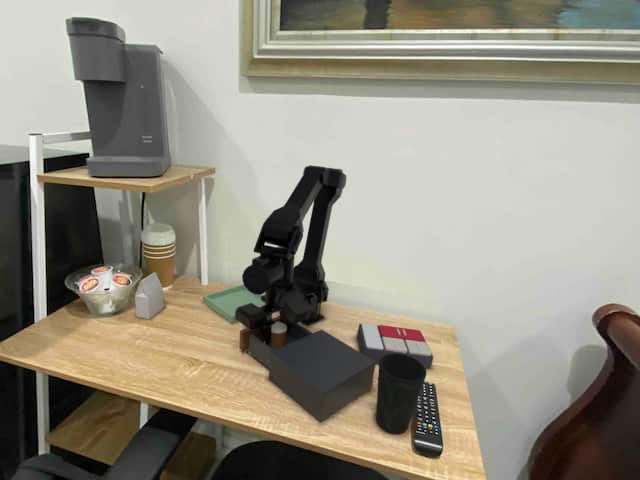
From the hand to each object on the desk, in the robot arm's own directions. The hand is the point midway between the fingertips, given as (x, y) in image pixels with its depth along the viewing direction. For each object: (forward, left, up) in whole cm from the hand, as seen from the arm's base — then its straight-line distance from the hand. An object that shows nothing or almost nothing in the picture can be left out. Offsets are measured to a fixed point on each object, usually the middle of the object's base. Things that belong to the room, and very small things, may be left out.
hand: (275, 340), depth 87 cm
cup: (-3, +29, -3) cm, 29 cm away
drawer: (0, 0, -2) cm, 2 cm away
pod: (0, 0, -1) cm, 1 cm away
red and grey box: (-22, +16, -3) cm, 27 cm away
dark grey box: (0, +14, -3) cm, 14 cm away
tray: (-6, -23, -3) cm, 24 cm away
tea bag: (+15, -33, -3) cm, 36 cm away
